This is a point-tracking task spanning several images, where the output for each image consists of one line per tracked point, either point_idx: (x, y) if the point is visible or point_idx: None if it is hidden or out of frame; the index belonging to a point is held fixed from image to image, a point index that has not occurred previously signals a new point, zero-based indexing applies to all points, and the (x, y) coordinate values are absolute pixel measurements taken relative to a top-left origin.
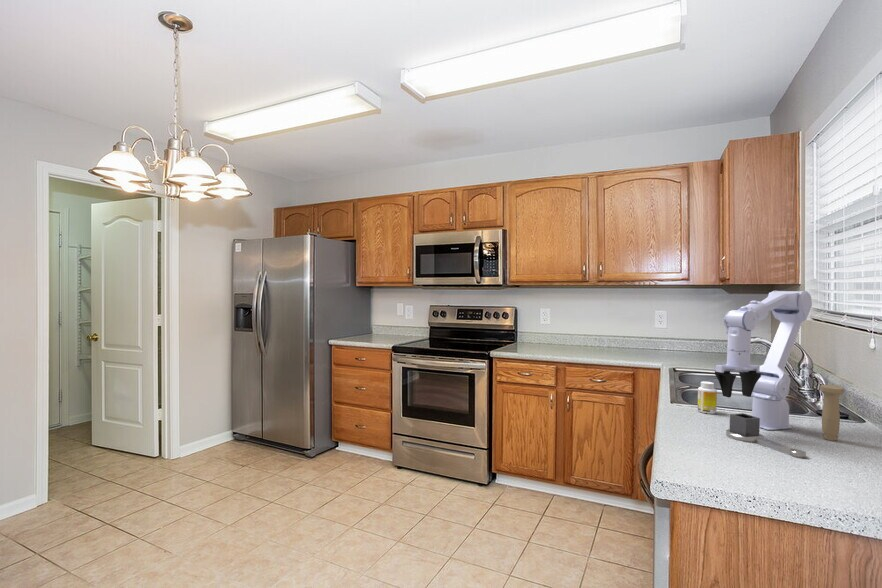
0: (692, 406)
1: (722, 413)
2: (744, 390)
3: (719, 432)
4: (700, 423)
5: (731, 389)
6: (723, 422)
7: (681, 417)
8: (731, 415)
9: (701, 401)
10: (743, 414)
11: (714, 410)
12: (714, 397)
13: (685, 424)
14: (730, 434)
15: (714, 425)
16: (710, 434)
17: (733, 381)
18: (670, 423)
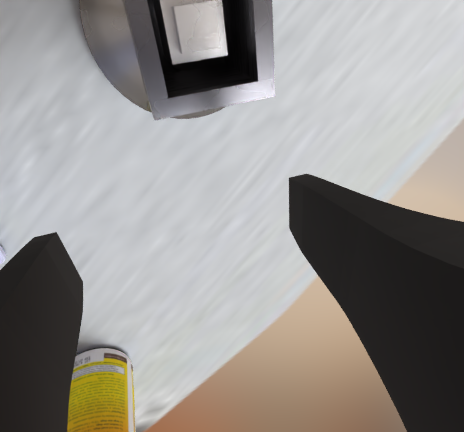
0: None
1: None
2: (67, 310)
3: (250, 114)
4: (234, 232)
5: (341, 201)
6: (118, 254)
7: (250, 291)
8: (271, 83)
9: (131, 397)
10: (170, 96)
11: (81, 362)
12: (77, 421)
13: None
14: None
15: (194, 211)
16: (314, 86)
17: (416, 245)
18: None
